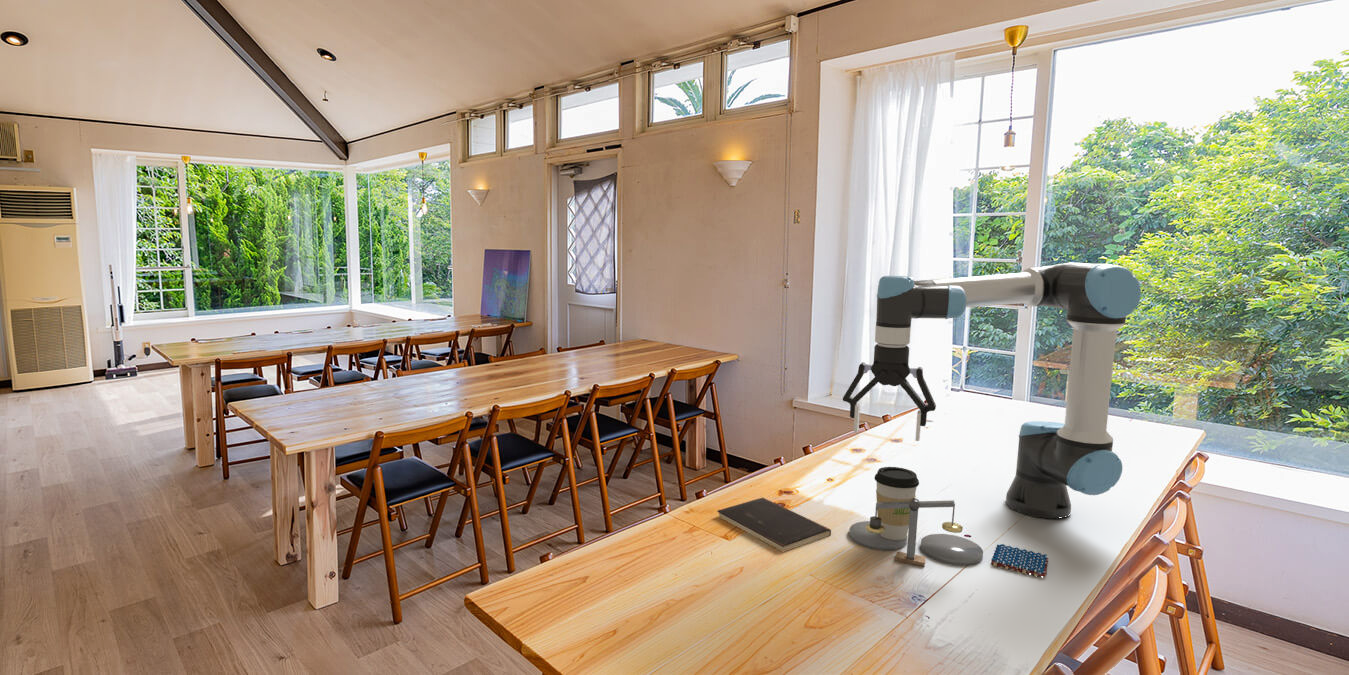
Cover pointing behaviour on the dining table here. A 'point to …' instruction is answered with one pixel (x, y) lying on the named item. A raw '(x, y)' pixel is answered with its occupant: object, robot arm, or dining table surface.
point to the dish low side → (873, 538)
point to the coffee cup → (895, 499)
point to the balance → (912, 526)
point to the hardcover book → (774, 523)
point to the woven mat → (1020, 560)
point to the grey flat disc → (951, 549)
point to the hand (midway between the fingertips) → (886, 435)
